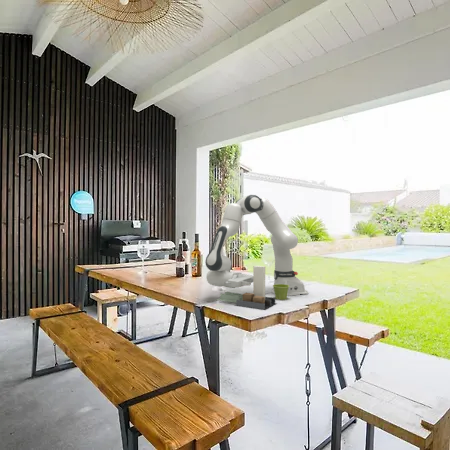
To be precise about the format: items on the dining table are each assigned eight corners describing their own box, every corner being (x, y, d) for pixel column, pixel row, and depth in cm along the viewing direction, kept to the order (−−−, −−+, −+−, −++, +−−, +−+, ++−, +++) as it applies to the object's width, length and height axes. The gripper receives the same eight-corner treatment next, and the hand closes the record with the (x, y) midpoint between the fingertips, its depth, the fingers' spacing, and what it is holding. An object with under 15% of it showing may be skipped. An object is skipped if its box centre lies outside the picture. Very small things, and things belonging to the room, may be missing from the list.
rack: (247, 301, 201) (247, 294, 201) (277, 305, 192) (277, 298, 191) (234, 307, 187) (234, 299, 187) (265, 312, 178) (265, 304, 178)
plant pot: (280, 303, 197) (281, 287, 196) (269, 300, 204) (269, 285, 204) (292, 301, 202) (292, 286, 202) (280, 297, 210) (281, 283, 210)
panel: (255, 301, 195) (255, 265, 195) (265, 303, 192) (265, 266, 192) (253, 302, 193) (253, 266, 193) (263, 304, 190) (263, 267, 190)
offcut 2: (256, 305, 188) (256, 295, 188) (264, 306, 186) (264, 296, 185) (252, 306, 185) (252, 297, 184) (261, 307, 182) (261, 298, 182)
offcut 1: (246, 303, 191) (246, 292, 191) (254, 304, 189) (254, 293, 188) (242, 305, 188) (242, 293, 188) (251, 306, 185) (251, 295, 185)
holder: (226, 297, 210) (226, 290, 210) (247, 300, 203) (247, 293, 203) (216, 301, 200) (216, 294, 200) (237, 305, 193) (237, 297, 192)
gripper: (222, 277, 192) (245, 279, 185) (240, 272, 210) (261, 274, 203) (222, 288, 192) (245, 291, 185) (240, 282, 210) (261, 285, 203)
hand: (254, 282), depth 194 cm, fingers open, 8 cm apart
